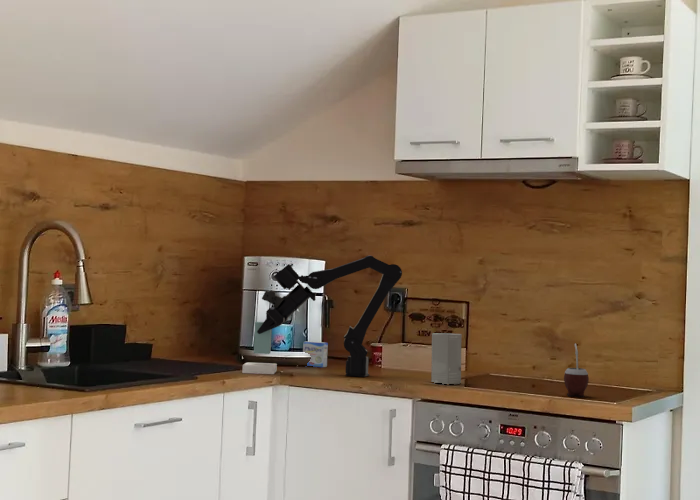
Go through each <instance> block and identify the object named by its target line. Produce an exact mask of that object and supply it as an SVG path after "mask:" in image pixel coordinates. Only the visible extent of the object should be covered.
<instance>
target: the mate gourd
mask: <svg viewBox="0 0 700 500" xmlns="http://www.w3.org/2000/svg"><path fill="white" fill-rule="evenodd" d="M574 348H575V364H576V365H575V366H576V367H568V368H567V369H565V371H564V374H563V382H564V385H565V388H566V389H567V393H566V395H567V396H566V397H568V398H571V397H573V398H575V397H576V398H577V397H578V398H582V399H583V398H585V391H586V389H587V387H588V385H589V373H588V371H587V369H585V368H580V367H579V351H578V347H577V343H574Z"/></svg>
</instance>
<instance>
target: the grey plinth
mask: <svg viewBox="0 0 700 500" xmlns="http://www.w3.org/2000/svg"><path fill="white" fill-rule="evenodd" d="M277 365H278V364H277V363H271V362H270V363H269V362H245V363H244V364H242V371H241V373H242V374H256V375H257V374H258V375H274V374H275V373H276V372H277V367H278V366H277Z"/></svg>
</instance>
